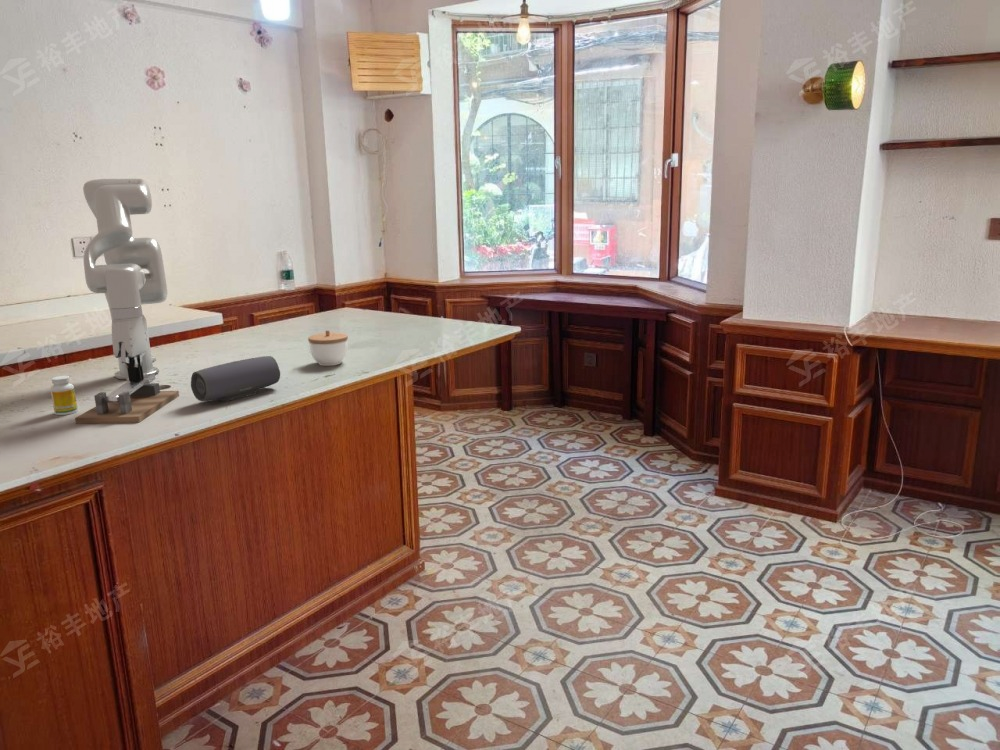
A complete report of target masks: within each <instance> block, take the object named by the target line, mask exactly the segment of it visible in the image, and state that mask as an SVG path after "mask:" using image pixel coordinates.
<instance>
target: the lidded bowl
mask: <svg viewBox="0 0 1000 750" xmlns="http://www.w3.org/2000/svg"><path fill="white" fill-rule="evenodd" d="M348 338H349V336H348V335H347V334H346V333H341V332H331V331H330V330H328V329H327V330H325V332H323V333H317V334H316V333H315V334H313V335H310V336H308V338H307V340H308V344H309V345H308V346H309V347H308V348H309V351H310V352H309V353H310V354H311V356H312V357H311V358H313V360H314V361H315V362H317V363H318V366H325V367H331V366H337V365H340V364H342V361H344V359H345V358H346V357H347V353H348V349H349V348H348V344H349V343H348Z"/></svg>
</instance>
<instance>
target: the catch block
mask: <svg viewBox="0 0 1000 750" xmlns="http://www.w3.org/2000/svg"><path fill="white" fill-rule="evenodd" d="M160 391H161V388H160V383H159V382H158V383H154V382H153V383H152V382H150V383H146V384H144V385H143V386H141V387H140V388H139V389H137V390H136V391H135V392H133V393H132V394H131V395H130V396H154V395H157V394H159V393H160Z"/></svg>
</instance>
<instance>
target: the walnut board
mask: <svg viewBox="0 0 1000 750" xmlns="http://www.w3.org/2000/svg"><path fill="white" fill-rule="evenodd" d="M105 396H107V392H106V391H104V392H98V393H97V394H95V395H94V396H93V397H94V403H95V406H94V407H92V408H90V409H88V410H87V411H85V412H83V413H81V414H79V415H78V416H76V417H74V420H75V424H78V425H79V424H80V425H81V424H115V423H116V424H119V423H120V424H122V423H141V422H142V421H144V420H145V419H147V418H148V417H150V416H151V415H153V414H154V413H156V412H157V411H158V410H161V409H162V408H164V407H165V406H166V405H168V404H169V403H171V402H172V401H174V400H175V399H177V398H178V397H179V396H180V392H179V390H160V393H159V394H157V395H154V396H130V393H129V392H123V393H121V394H119V395H118V398H119V402H114V403H104V401H103V398H104V397H105Z"/></svg>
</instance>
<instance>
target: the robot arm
mask: <svg viewBox="0 0 1000 750" xmlns="http://www.w3.org/2000/svg"><path fill="white" fill-rule="evenodd" d="M82 190H83V195H84V198H85V201H86V203H87V206H88V207H89V209H90V210H91V212H92V214H93V216H94V218H95V219H96V226H97V233H96V234H95V236H94V237H92V239H91V240H90V241H89V243H88V244H87V245H86V248H85V250H84V253H83V267H84V276H85V277H84V278H85V284H86V286H87V288H88V290H89V291H90V292H92V293H95V294H104V296H105V298H106V301H107V304H108V309H109V312H110V318H111V340H112V341H111V342H112V349H113V350H112V352H113V357H115V358H117V362H118V368H119V370H118V371H116V372H115V373H114V378H116V379H117V380H118V379H119V380H127V379H128V378H129V381H130V382H137V381H142V380H144V376H143V375H155V376H156V375H157V374H158V373H159V372H160V370H159V368H158V367H157V366H153V365H154V364H153V363H155V362H156V361H157V359H156V357H155V356H152V351H151V345H150V337H149V330H148V324H147V319H146V317H145V315H144V314H143V310H142V309H143V308H142V305H151V304H152V305H154V304H161V303H164V302H165V301H166V300H167V298H168V287H167V286H168V284H167V279H166V273H165V265H164V260H163V254H162V250H161V246H160V244H159V242H158V240H156V239H155V238H153V237H133V229H132V220H131V216H132V215H135V216H136V215H147V214H150V213H151V211H152V207H153V203H152V195H151V191H150V187H149V184H148V183H147V182H146V180H144V179H142V178H97V179H92V180H89V181H86V182H85V183H84V184H83V187H82ZM102 255H104V256H103V257H104V261H105V263H106V264H96V261H97V260H98V259H99V257H101V256H102ZM144 270H147V271H148V273H147V272H146V273H145V271H144Z"/></svg>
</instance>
